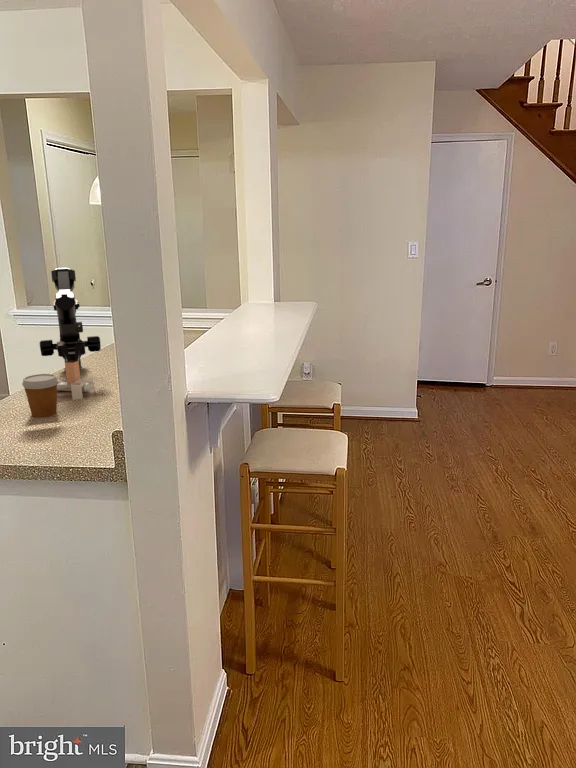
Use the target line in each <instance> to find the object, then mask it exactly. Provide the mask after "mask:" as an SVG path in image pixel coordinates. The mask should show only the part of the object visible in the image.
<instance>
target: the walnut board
mask: <svg viewBox="0 0 576 768" xmlns="http://www.w3.org/2000/svg"><path fill="white" fill-rule="evenodd" d="M87 379H88V384H89V387H90V390H88V391H86V392H82V396H83V399H82V400H86V399H94V398H95V399H97V398H98V394H97V391H96V386H95V383H94V381H93V378H87ZM64 382H67V380H66V381H64ZM77 400H78V401H79V400H80V399H76V400H75V401H77ZM67 401H68V402H69V401H74V400H73V399H72V391H60V392H57V403H60V402H67Z"/></svg>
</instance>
